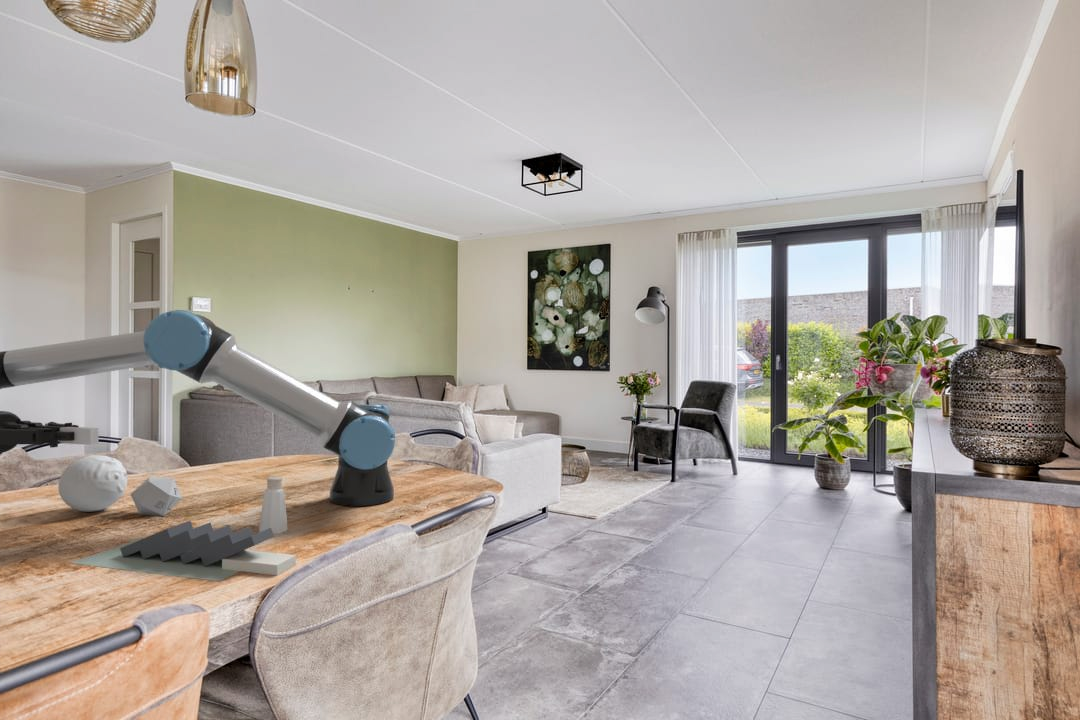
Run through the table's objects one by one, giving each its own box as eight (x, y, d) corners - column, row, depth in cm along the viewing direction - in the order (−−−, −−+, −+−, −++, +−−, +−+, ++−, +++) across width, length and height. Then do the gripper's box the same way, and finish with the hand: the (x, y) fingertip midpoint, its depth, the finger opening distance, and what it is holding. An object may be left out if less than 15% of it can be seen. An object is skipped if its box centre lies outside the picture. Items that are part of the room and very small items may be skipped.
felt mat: (69, 566, 99) (69, 562, 99) (142, 541, 112) (142, 538, 112) (219, 585, 93) (219, 581, 93) (277, 556, 107) (277, 552, 107)
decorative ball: (104, 518, 126) (106, 461, 126) (43, 518, 125) (44, 460, 125) (138, 504, 138) (139, 451, 138) (82, 503, 137) (83, 450, 137)
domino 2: (140, 550, 101) (187, 530, 99) (164, 541, 106) (210, 522, 104) (143, 559, 101) (191, 539, 99) (167, 550, 106) (213, 531, 104)
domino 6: (222, 559, 98) (277, 565, 96) (243, 549, 103) (296, 555, 101) (221, 568, 98) (277, 575, 96) (243, 558, 103) (296, 564, 101)
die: (143, 525, 125) (177, 485, 127) (113, 501, 126) (147, 462, 129) (165, 528, 132) (197, 491, 135) (136, 506, 134) (168, 469, 137)
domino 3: (159, 552, 100) (207, 532, 98) (182, 543, 105) (229, 524, 103) (162, 562, 100) (211, 542, 98) (185, 552, 105) (232, 533, 103)
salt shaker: (290, 528, 123) (292, 474, 123) (284, 536, 118) (285, 479, 117) (262, 529, 122) (263, 474, 122) (254, 537, 117) (256, 480, 117)
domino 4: (180, 555, 100) (229, 534, 98) (202, 546, 104) (250, 526, 103) (183, 564, 99) (232, 543, 98) (205, 554, 104) (253, 535, 102)
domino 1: (120, 548, 102) (167, 528, 100) (145, 539, 107) (190, 520, 105) (123, 557, 102) (170, 537, 100) (148, 548, 107) (193, 529, 105)
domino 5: (200, 557, 99) (251, 536, 97) (222, 547, 104) (270, 527, 102) (204, 566, 99) (254, 545, 97) (226, 556, 103) (274, 536, 102)
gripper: (23, 446, 117) (127, 451, 112) (-55, 458, 104) (57, 464, 99) (23, 407, 117) (127, 411, 112) (-56, 414, 104) (57, 418, 99)
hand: (94, 436), depth 106 cm, fingers closed
